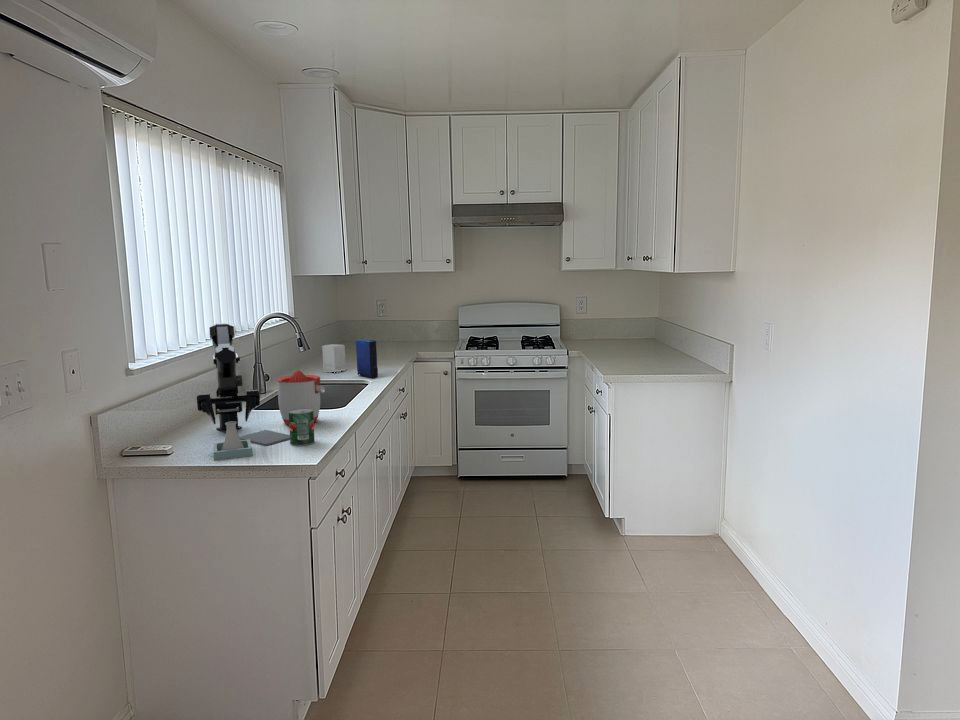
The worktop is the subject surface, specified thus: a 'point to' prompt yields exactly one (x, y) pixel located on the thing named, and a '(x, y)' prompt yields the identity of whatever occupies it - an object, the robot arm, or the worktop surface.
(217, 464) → the worktop surface
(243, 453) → the shallow square tray
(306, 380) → the citrus juicer
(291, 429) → the canned tomato
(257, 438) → the mat
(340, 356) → the supplement box
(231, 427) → the flask
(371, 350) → the book
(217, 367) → the robot arm
